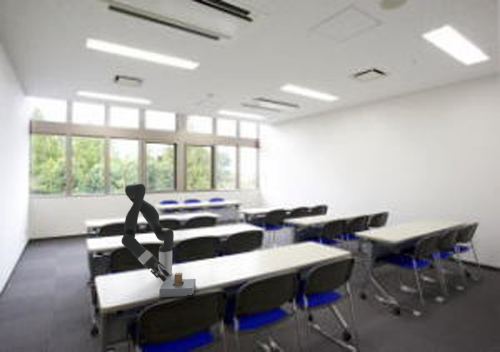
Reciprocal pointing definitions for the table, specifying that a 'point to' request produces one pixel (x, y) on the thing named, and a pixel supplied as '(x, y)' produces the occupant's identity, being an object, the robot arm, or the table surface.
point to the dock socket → (177, 288)
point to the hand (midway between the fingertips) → (166, 277)
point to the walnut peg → (178, 279)
